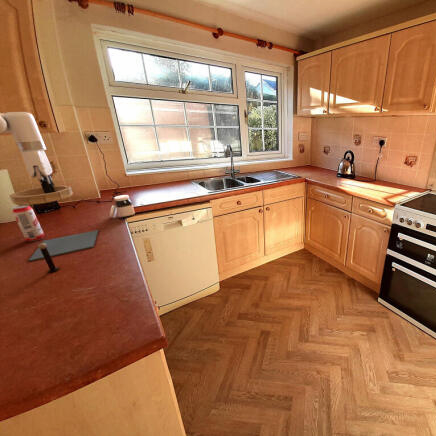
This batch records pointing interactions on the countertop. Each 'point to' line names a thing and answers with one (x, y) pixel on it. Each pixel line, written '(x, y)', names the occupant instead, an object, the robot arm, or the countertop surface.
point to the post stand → (47, 257)
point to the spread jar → (122, 207)
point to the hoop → (40, 195)
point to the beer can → (28, 223)
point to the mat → (67, 244)
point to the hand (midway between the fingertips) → (50, 192)
